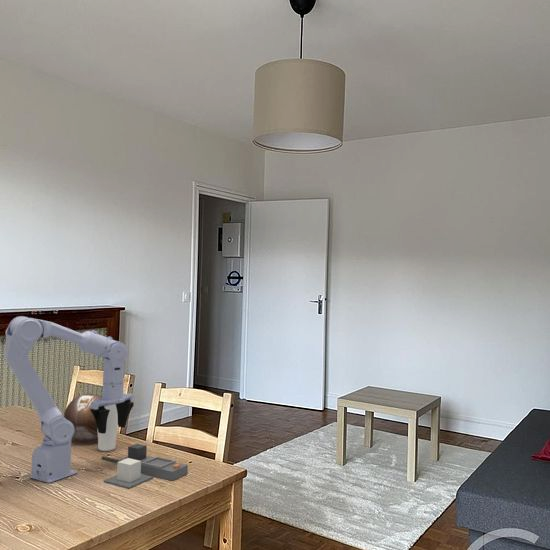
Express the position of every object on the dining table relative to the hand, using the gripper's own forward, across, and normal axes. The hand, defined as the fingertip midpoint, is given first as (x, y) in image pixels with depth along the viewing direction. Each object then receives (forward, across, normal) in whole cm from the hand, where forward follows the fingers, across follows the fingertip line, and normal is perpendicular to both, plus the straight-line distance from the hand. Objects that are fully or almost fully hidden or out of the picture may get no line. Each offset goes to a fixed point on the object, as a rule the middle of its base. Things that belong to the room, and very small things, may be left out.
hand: (112, 430), depth 159 cm
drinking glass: (+10, +10, +12) cm, 19 cm away
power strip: (+10, +2, -8) cm, 13 cm away
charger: (+10, -6, -13) cm, 17 cm away
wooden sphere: (+10, +14, +25) cm, 30 cm away
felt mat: (+10, -6, -13) cm, 18 cm away
